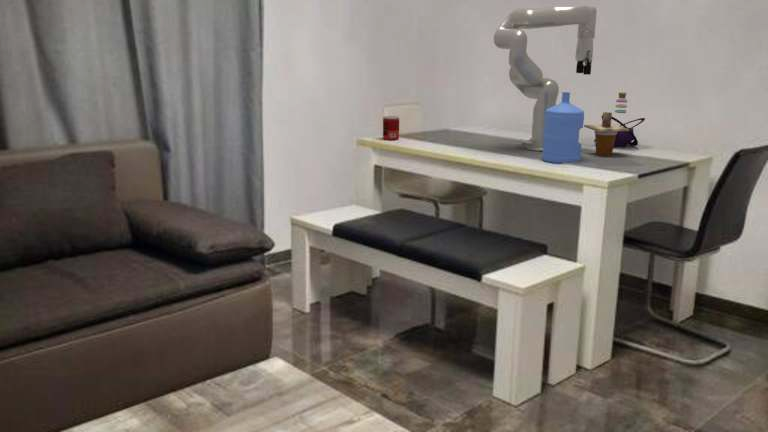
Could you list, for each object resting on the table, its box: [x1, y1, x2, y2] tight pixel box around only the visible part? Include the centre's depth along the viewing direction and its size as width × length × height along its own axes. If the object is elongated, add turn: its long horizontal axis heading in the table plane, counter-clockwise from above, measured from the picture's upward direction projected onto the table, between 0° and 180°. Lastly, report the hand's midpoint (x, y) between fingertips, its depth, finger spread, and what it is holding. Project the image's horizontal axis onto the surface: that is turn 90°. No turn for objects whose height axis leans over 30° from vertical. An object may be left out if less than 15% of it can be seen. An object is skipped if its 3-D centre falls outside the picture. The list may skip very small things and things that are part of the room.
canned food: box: [382, 115, 400, 142], centre depth 351 cm, size 8×8×11 cm
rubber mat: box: [586, 157, 645, 167], centre depth 293 cm, size 18×16×1 cm
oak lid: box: [583, 111, 629, 131], centre depth 307 cm, size 14×14×7 cm
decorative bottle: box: [593, 91, 646, 148], centre depth 336 cm, size 22×21×25 cm
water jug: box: [541, 91, 585, 165], centre depth 297 cm, size 16×16×28 cm
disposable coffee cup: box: [593, 130, 618, 157], centre depth 310 cm, size 10×10×12 cm
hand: (583, 73), depth 330 cm, fingers open, 9 cm apart
